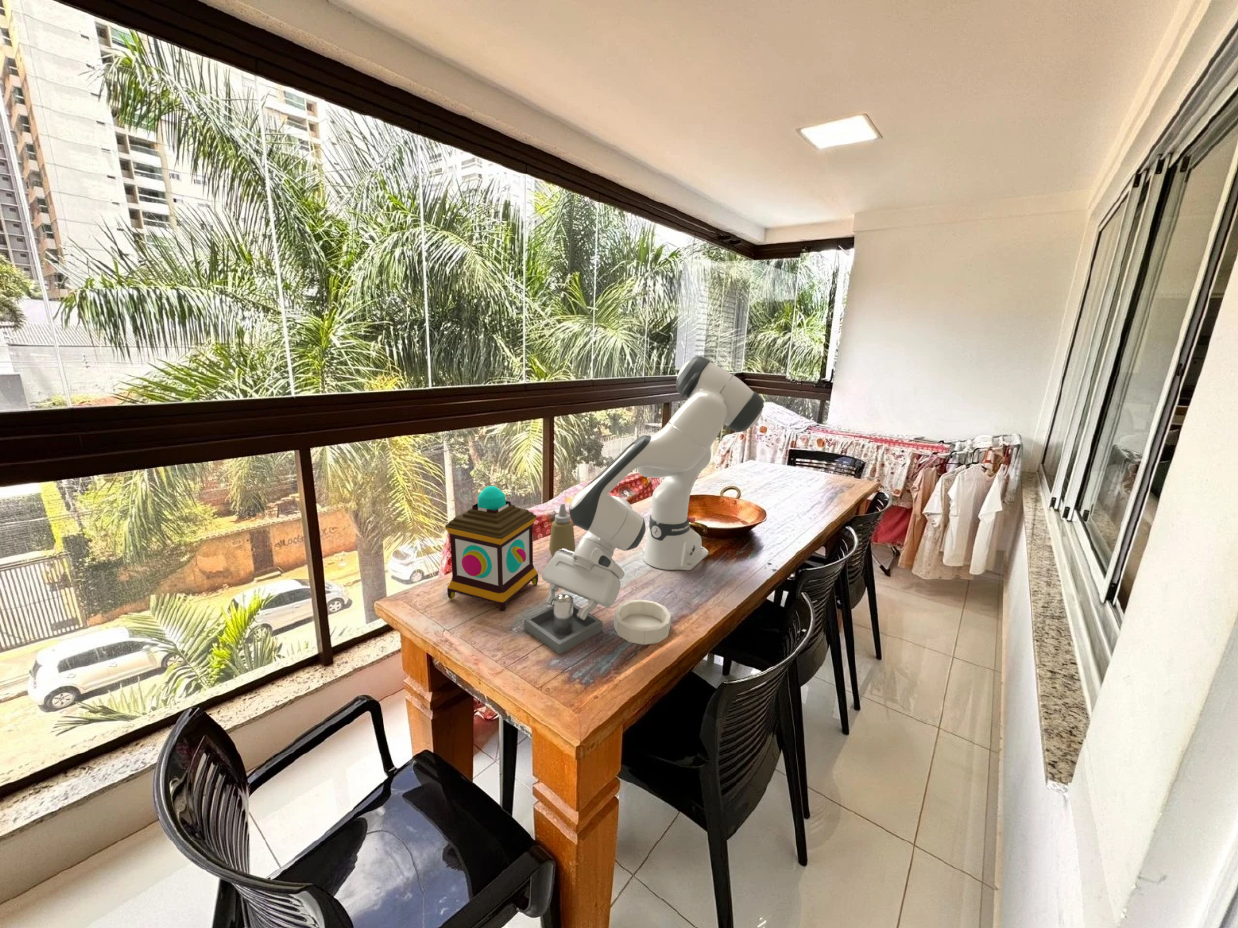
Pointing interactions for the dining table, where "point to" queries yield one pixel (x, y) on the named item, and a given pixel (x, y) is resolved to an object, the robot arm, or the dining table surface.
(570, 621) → the pebble cup
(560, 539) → the squeeze bottle
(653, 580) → the dining table surface
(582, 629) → the tray
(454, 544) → the decorative lantern
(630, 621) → the bowl
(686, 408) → the robot arm
